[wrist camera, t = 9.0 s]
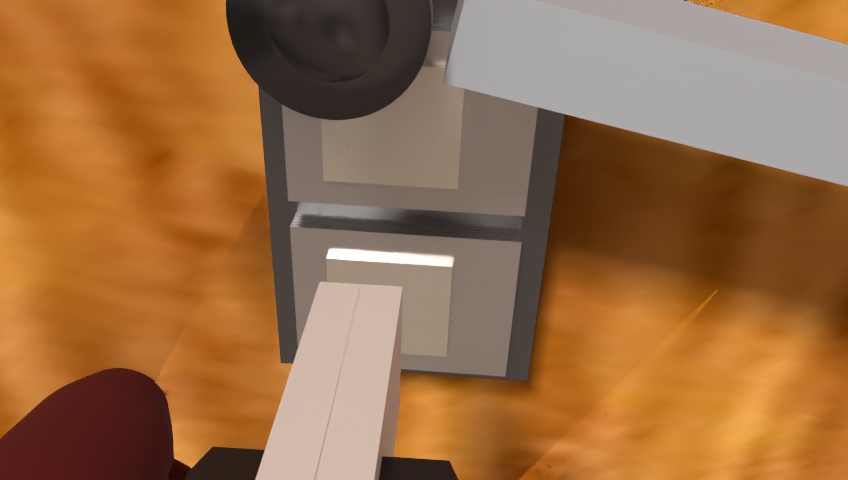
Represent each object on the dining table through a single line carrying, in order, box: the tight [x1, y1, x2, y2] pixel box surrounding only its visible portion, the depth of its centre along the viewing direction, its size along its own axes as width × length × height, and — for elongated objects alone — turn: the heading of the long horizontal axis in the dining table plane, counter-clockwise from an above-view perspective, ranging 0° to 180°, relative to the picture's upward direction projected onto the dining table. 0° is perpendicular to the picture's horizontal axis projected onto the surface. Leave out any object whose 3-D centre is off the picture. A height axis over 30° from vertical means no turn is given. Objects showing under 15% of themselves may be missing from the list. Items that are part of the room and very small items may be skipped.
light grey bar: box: [443, 0, 848, 186], centre depth 18 cm, size 17×4×5 cm, turn 77°
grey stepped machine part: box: [226, 0, 565, 381], centre depth 23 cm, size 10×18×12 cm, turn 178°
